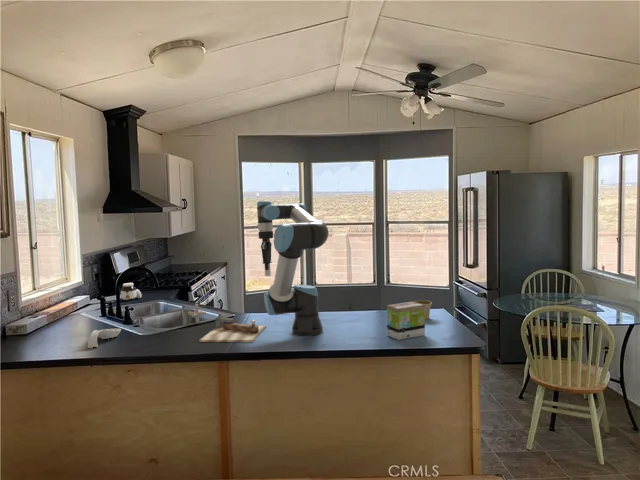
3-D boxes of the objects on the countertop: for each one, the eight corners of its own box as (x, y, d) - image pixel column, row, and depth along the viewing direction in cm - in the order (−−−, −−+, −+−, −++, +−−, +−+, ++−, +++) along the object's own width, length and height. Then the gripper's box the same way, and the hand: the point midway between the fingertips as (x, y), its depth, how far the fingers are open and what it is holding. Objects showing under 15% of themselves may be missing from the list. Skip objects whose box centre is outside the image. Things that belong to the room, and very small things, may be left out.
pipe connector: (201, 325, 257) (200, 306, 256) (184, 324, 259) (183, 306, 258) (209, 320, 266) (208, 302, 265) (193, 320, 268) (192, 302, 267)
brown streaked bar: (260, 331, 235) (260, 325, 234) (254, 333, 231) (254, 328, 230) (227, 326, 247) (226, 321, 246) (220, 328, 242) (220, 323, 242)
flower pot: (434, 317, 253) (434, 301, 253) (428, 321, 245) (428, 304, 245) (418, 315, 258) (417, 299, 258) (411, 319, 251) (411, 303, 250)
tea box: (399, 340, 214) (398, 308, 213) (386, 335, 223) (385, 304, 222) (425, 335, 221) (425, 304, 220) (412, 330, 230) (411, 300, 229)
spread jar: (119, 301, 332) (118, 284, 331) (128, 297, 343) (127, 281, 342) (135, 301, 330) (134, 284, 329) (144, 297, 341) (142, 281, 340)
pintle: (255, 325, 234) (255, 320, 234) (254, 326, 233) (254, 321, 232) (252, 325, 235) (251, 320, 234) (251, 326, 233) (250, 321, 233)
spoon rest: (102, 335, 245) (100, 321, 244) (125, 334, 245) (124, 320, 245) (80, 349, 221) (79, 334, 221) (105, 348, 222) (104, 333, 221)
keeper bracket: (235, 328, 243) (234, 318, 243) (231, 329, 241) (230, 320, 240) (220, 325, 249) (219, 316, 249) (216, 327, 247) (215, 317, 246)
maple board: (266, 327, 246) (266, 325, 246) (252, 342, 221) (252, 339, 221) (218, 327, 250) (218, 325, 250) (199, 341, 225) (199, 339, 225)
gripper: (262, 230, 253) (264, 274, 255) (255, 231, 240) (257, 278, 242) (275, 229, 252) (277, 273, 254) (269, 231, 239) (271, 277, 241)
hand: (267, 275), depth 248 cm, fingers closed
